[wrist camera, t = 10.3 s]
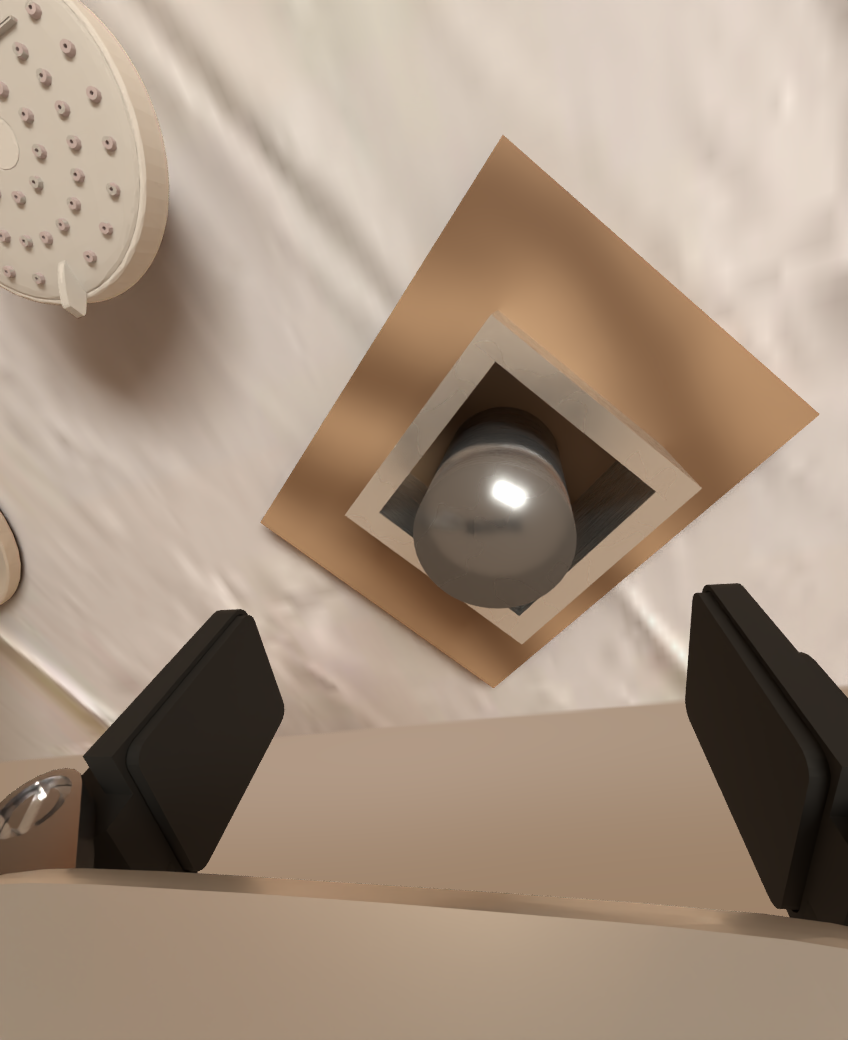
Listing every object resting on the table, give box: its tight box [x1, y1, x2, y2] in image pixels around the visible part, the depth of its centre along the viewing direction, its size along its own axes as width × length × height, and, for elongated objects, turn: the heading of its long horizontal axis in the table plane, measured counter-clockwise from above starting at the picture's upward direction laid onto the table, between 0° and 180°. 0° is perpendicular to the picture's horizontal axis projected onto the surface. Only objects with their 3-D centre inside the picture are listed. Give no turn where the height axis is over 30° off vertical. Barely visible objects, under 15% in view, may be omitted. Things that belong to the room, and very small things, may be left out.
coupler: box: [413, 407, 577, 609], centre depth 19 cm, size 5×5×8 cm
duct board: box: [260, 135, 819, 688], centre depth 21 cm, size 20×16×6 cm
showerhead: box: [0, 0, 169, 318], centre depth 18 cm, size 9×7×10 cm
